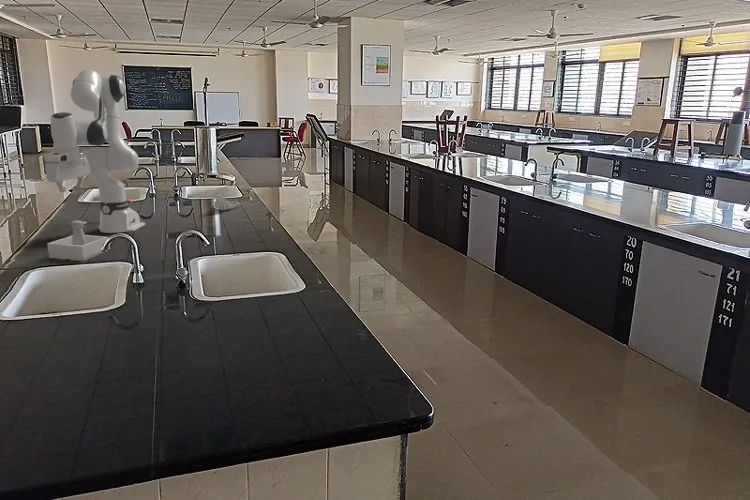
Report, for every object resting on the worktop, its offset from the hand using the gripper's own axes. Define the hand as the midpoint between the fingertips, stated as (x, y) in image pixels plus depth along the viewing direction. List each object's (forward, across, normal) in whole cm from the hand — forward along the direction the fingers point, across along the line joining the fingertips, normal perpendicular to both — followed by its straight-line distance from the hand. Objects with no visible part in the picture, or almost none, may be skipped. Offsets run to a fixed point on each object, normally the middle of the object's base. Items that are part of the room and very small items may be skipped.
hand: (71, 190), depth 232 cm
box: (+27, +1, +1) cm, 27 cm away
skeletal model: (+28, -100, +14) cm, 105 cm away
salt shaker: (+26, 0, +1) cm, 26 cm away
